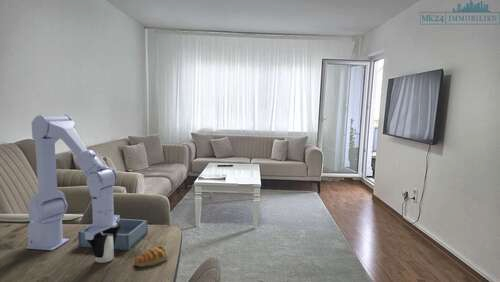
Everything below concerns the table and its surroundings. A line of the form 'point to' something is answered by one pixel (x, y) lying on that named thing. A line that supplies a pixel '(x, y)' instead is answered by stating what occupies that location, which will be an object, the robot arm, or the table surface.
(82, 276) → the table surface
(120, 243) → the tote
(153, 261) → the pastry
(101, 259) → the white egg shape
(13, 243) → the table surface
